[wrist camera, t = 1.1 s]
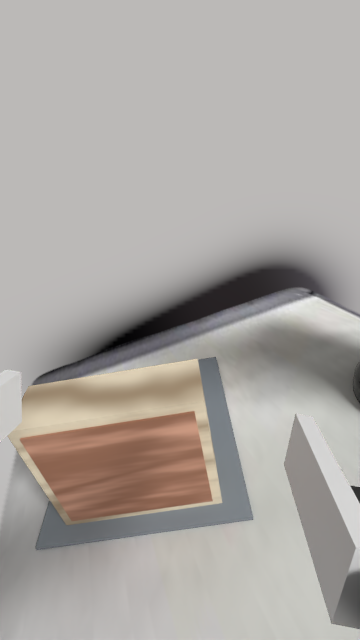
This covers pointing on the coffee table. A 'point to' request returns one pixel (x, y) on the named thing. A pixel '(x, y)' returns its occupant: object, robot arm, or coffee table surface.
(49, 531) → the slate mat
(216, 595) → the coffee table surface
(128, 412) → the birch slab
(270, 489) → the coffee table surface
